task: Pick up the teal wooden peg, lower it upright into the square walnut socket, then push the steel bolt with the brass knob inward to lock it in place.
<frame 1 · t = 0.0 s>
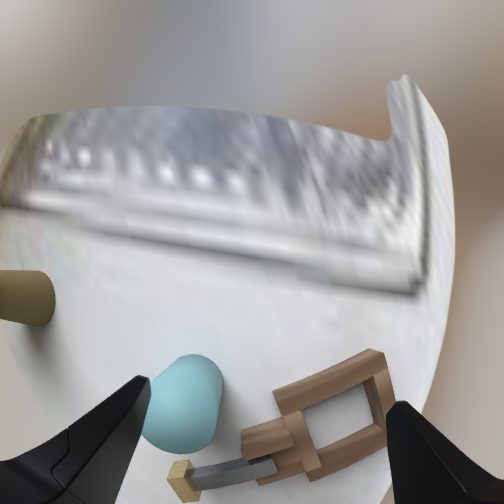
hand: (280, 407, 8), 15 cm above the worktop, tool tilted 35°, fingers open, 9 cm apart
peg: (195, 381, 22), on the worktop
lock bolt: (224, 474, 16), point 4 cm above the worktop, slide at 0.0 cm
cork: (37, 298, 22), on the worktop
dock: (336, 412, 22), on the worktop
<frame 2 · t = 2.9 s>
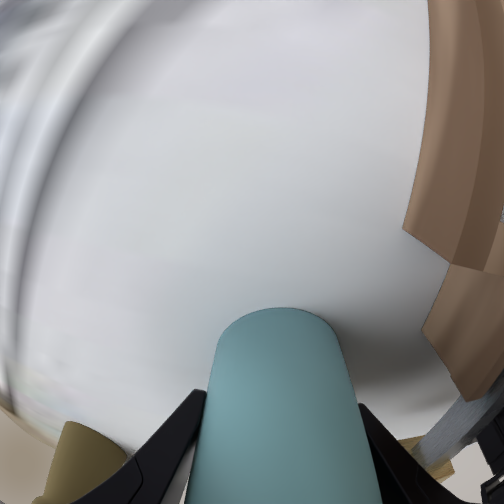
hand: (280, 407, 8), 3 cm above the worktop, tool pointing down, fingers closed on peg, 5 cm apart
peg: (278, 358, 10), on the worktop, touching gripper
lock bolt: (461, 425, 7), point 4 cm above the worktop, slide at 0.0 cm
cork: (95, 440, 16), on the worktop
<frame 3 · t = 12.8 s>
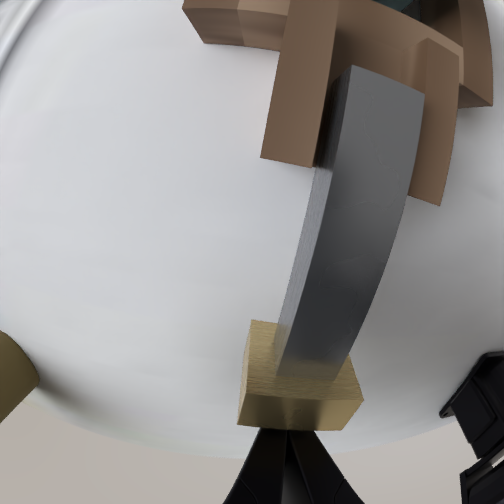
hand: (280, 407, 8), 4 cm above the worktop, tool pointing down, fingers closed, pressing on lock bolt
lock bolt: (334, 269, 6), point 4 cm above the worktop, slide at 0.2 cm, touching gripper
cork: (16, 357, 15), on the worktop
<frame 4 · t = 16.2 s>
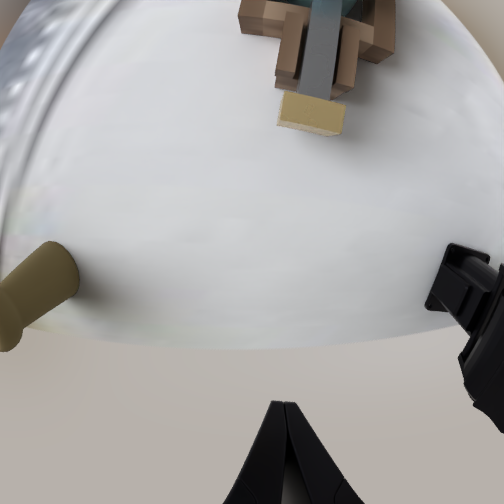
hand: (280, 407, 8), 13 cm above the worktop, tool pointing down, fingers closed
lock bolt: (317, 58, 11), point 4 cm above the worktop, slide at 3.6 cm
cork: (58, 269, 22), on the worktop
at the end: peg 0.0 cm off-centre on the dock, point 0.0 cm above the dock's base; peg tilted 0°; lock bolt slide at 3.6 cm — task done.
